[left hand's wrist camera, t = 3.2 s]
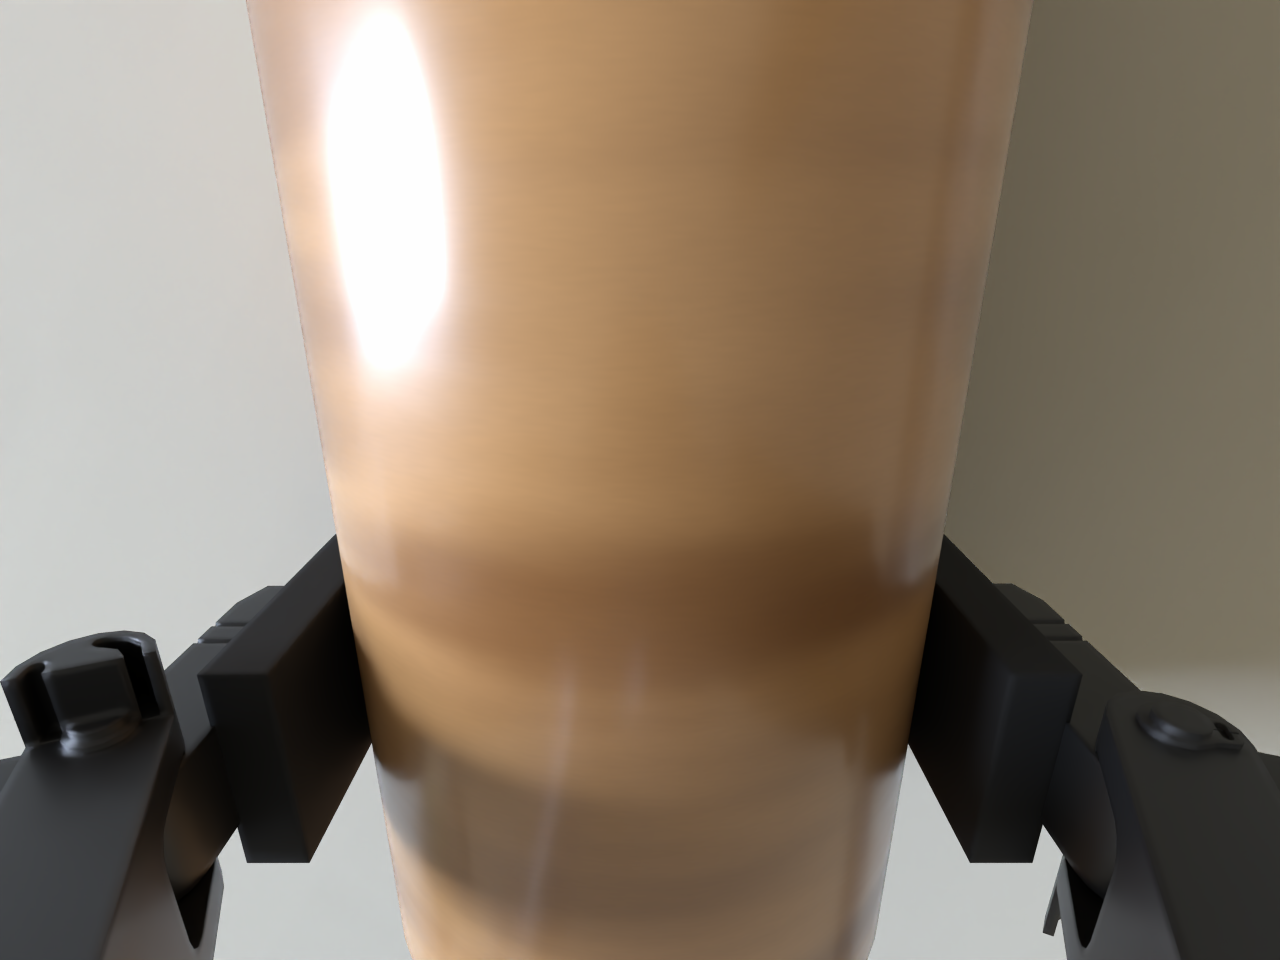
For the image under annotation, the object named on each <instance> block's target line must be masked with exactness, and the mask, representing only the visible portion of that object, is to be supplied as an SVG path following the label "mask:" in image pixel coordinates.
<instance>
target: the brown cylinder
mask: <svg viewBox="0 0 1280 960" xmlns="http://www.w3.org/2000/svg"><path fill="white" fill-rule="evenodd" d="M1033 2H1034V0H246V3H247V9H248V15H249V21H250V27H251V33H252V38H253V44H254V50H255V56H256V62H257V68H258V74H259V80H260V86H261V92H262V97H263V103H264V109H265V115H266V121H267V127H268V133H269V139H270V145H271V150H272V156H273V162H274V168H275V174H276V180H277V186H278V192H279V198H280V204H281V209H282V215H283V221H284V227H285V233H286V239H287V245H288V251H289V257H290V263H291V268H292V274H293V280H294V286H295V292H296V298H297V304H298V310H299V316H300V322H301V327H302V333H303V339H304V345H305V351H306V357H307V363H308V369H309V375H310V381H311V386H312V392H313V398H314V404H315V410H316V416H317V422H318V428H319V434H320V440H321V445H322V451H323V457H324V463H325V469H326V475H327V481H328V487H329V493H330V498H331V504H332V510H333V516H334V522H335V528H336V534H337V540H338V546H339V552H340V557H341V563H342V569H343V575H344V581H345V587H346V593H347V599H348V605H349V611H350V616H351V622H352V628H353V634H354V640H355V646H356V652H357V658H358V664H359V670H360V675H361V681H362V687H363V693H364V699H365V705H366V711H367V717H368V723H369V729H370V734H371V740H372V746H373V752H374V758H375V764H376V770H377V776H378V782H379V788H380V793H381V799H382V805H383V811H384V817H385V823H386V829H387V835H388V841H389V847H390V852H391V858H392V864H393V870H394V876H395V882H396V888H397V894H398V900H399V905H400V911H401V917H402V923H403V929H404V934H405V939H406V942H407V945H408V948H409V951H410V954H411V956H412V959H413V960H867V959H868V956H869V953H870V951H871V948H872V945H873V942H874V939H875V934H876V928H877V923H878V917H879V911H880V905H881V899H882V893H883V888H884V882H885V876H886V870H887V864H888V858H889V852H890V846H891V840H892V834H893V829H894V823H895V817H896V811H897V805H898V799H899V793H900V787H901V781H902V775H903V769H904V764H905V758H906V752H907V746H908V740H909V734H910V728H911V722H912V716H913V710H914V705H915V699H916V693H917V687H918V681H919V675H920V669H921V663H922V657H923V651H924V645H925V640H926V634H927V628H928V622H929V616H930V610H931V604H932V598H933V592H934V586H935V581H936V575H937V569H938V563H939V557H940V551H941V545H942V539H943V533H944V527H945V521H946V516H947V510H948V504H949V498H950V492H951V486H952V480H953V474H954V468H955V462H956V456H957V451H958V445H959V439H960V433H961V427H962V421H963V415H964V409H965V403H966V397H967V392H968V386H969V380H970V374H971V368H972V362H973V356H974V350H975V344H976V338H977V332H978V327H979V321H980V315H981V309H982V303H983V297H984V291H985V285H986V279H987V273H988V267H989V262H990V256H991V250H992V244H993V238H994V232H995V226H996V220H997V214H998V208H999V203H1000V197H1001V191H1002V185H1003V179H1004V173H1005V167H1006V161H1007V155H1008V149H1009V143H1010V138H1011V132H1012V126H1013V120H1014V114H1015V108H1016V102H1017V96H1018V90H1019V84H1020V79H1021V73H1022V67H1023V61H1024V55H1025V49H1026V43H1027V37H1028V31H1029V25H1030V19H1031V14H1032V8H1033Z"/></svg>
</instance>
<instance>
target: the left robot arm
mask: <svg viewBox="0 0 1280 960" xmlns="http://www.w3.org/2000/svg"><path fill="white" fill-rule="evenodd" d="M0 683H1V685H2V688H3V691H4V693H5V696H6V698H7V701H8V703H9V706H10V709H11V711H12V714H13V716H14V719H15V721H16V724H17V726H18V729H19V732H20V734H21V737H22V739H23V742H24V744H25V747H26V748H25V750H24V752H23V753H22V755H21V756H17V757H12V758H7V759H2V760H0V960H213V957H214V951H215V944H216V937H217V930H218V923H219V917H220V910H221V903H222V896H223V889H224V884H223V876H222V871H221V867H220V864H219V860H218V855H219V854H220V852H221V851H222V849H223V848H224V846H225V845H226V843H227V842H228V840H229V839H230V837H231V836H232V834H233V833H234V831H235V830H236V828H237V827H238V831H239V835H240V838H241V842H242V846H243V850H244V853H245V857H246V861H247V863H310V861H311V859H312V857H313V855H314V853H315V851H316V849H317V847H318V845H319V843H320V841H321V839H322V838H323V836H324V834H325V832H326V830H327V828H328V826H329V824H330V822H331V820H332V818H333V816H334V814H335V812H336V811H337V809H338V807H339V805H340V803H341V801H342V799H343V797H344V795H345V793H346V791H347V789H348V787H349V786H350V784H351V782H352V780H353V778H354V776H355V774H356V772H357V770H358V768H359V766H360V764H361V762H362V760H363V759H364V757H365V755H366V753H367V751H368V749H369V747H370V745H371V743H372V740H371V734H370V729H369V723H368V717H367V711H366V705H365V699H364V693H363V687H362V681H361V675H360V670H359V664H358V658H357V652H356V646H355V640H354V634H353V628H352V622H351V616H350V611H349V605H348V599H347V593H346V587H345V581H344V575H343V569H342V563H341V557H340V552H339V546H338V540H337V534H335V535H334V536H333V537H332V538H331V539H330V540H329V541H328V542H327V543H326V544H325V545H324V546H323V547H322V548H321V549H320V550H319V551H318V553H317V554H316V555H315V556H314V557H313V558H312V559H311V560H310V561H309V562H308V563H307V564H306V565H305V566H304V567H303V568H302V569H301V570H300V571H299V572H298V573H297V574H296V575H295V576H294V577H293V578H292V579H291V580H290V581H289V582H288V583H287V584H286V585H285V586H267V587H265V588H263V589H262V590H260V591H258V592H256V593H254V594H252V595H250V596H249V597H247V598H245V599H243V600H241V601H239V602H238V603H236V604H235V605H234V606H233V607H232V608H231V609H230V610H229V611H228V612H227V613H226V614H224V615H223V616H222V617H221V618H220V619H219V620H218V621H217V622H216V626H215V627H211V628H209V629H208V630H207V631H206V632H205V633H204V634H203V635H202V636H201V637H200V638H199V639H198V643H193V644H192V645H191V646H190V647H189V648H188V649H187V650H186V651H185V652H184V653H183V654H182V655H181V656H179V657H178V658H177V659H176V660H175V661H174V662H173V663H172V664H171V665H170V666H169V667H168V668H167V669H166V670H164V669H163V665H162V662H161V658H160V655H159V651H158V648H157V644H156V641H155V639H153V638H151V637H150V636H148V635H147V634H145V633H141V632H132V631H116V632H106V633H98V634H94V635H90V636H86V637H82V638H78V639H74V640H70V641H67V642H65V643H62V644H60V645H57V646H55V647H52V648H50V649H47V650H45V651H42V652H40V653H38V654H37V655H35V656H33V657H32V658H30V659H28V660H26V661H25V662H23V663H21V664H20V665H18V666H16V667H15V668H14V669H13V670H12V671H11V672H10V673H9V674H8V675H7V676H6V677H4V678H3V679H2V680H1V681H0ZM908 744H909V746H910V748H911V750H912V752H913V754H914V756H915V758H916V759H917V761H918V763H919V765H920V767H921V769H922V771H923V773H924V775H925V777H926V779H927V781H928V783H929V785H930V786H931V788H932V790H933V792H934V794H935V796H936V798H937V800H938V802H939V804H940V806H941V808H942V810H943V811H944V813H945V815H946V817H947V819H948V821H949V823H950V825H951V827H952V829H953V831H954V833H955V835H956V837H957V838H958V840H959V842H960V844H961V846H962V848H963V850H964V852H965V854H966V856H967V858H968V860H969V862H970V863H1032V862H1033V859H1034V855H1035V851H1036V847H1037V844H1038V840H1039V836H1040V833H1041V829H1042V825H1044V827H1045V828H1046V830H1047V831H1048V833H1049V834H1050V836H1051V837H1052V839H1053V840H1054V842H1055V843H1056V845H1057V846H1058V847H1059V849H1060V850H1061V852H1062V853H1063V857H1062V860H1061V864H1060V867H1059V871H1058V874H1057V877H1056V881H1055V884H1054V888H1053V891H1052V895H1051V898H1050V902H1049V905H1048V909H1047V912H1046V916H1045V921H1044V928H1043V933H1045V934H1048V935H1051V936H1054V933H1055V929H1056V926H1057V923H1058V920H1059V919H1061V921H1062V928H1063V935H1064V942H1065V949H1066V955H1067V960H1280V756H1275V755H1270V754H1265V753H1260V752H1257V750H1256V748H1255V747H1254V746H1253V744H1252V743H1251V742H1250V741H1249V740H1248V739H1247V738H1246V736H1245V735H1244V734H1243V733H1242V732H1241V731H1240V730H1239V729H1238V728H1236V727H1235V726H1233V725H1232V724H1230V723H1229V722H1227V721H1226V720H1225V719H1223V718H1222V717H1220V716H1219V715H1217V714H1215V713H1213V712H1211V711H1209V710H1207V709H1204V708H1202V707H1200V706H1198V705H1196V704H1194V703H1192V702H1189V701H1186V700H1182V699H1179V698H1176V697H1172V696H1169V695H1166V694H1162V693H1154V692H1146V691H1140V690H1139V689H1138V688H1137V687H1136V686H1135V685H1134V684H1133V683H1132V682H1131V681H1130V680H1128V679H1127V678H1126V677H1125V676H1124V675H1123V674H1122V673H1121V672H1120V671H1119V670H1118V669H1117V668H1115V667H1114V666H1113V665H1112V664H1111V663H1110V662H1109V661H1108V660H1107V659H1106V658H1105V657H1104V656H1103V655H1101V654H1100V653H1099V652H1098V651H1097V650H1096V649H1095V648H1094V647H1093V646H1092V645H1091V644H1090V643H1089V642H1087V641H1083V640H1082V636H1081V635H1080V634H1079V633H1078V632H1077V631H1076V630H1074V629H1073V628H1072V627H1071V626H1070V625H1069V624H1065V623H1064V619H1063V618H1062V617H1060V616H1059V615H1058V614H1057V613H1056V612H1055V611H1054V610H1053V609H1052V608H1051V607H1050V606H1049V605H1048V604H1046V603H1045V602H1044V601H1043V600H1041V599H1040V598H1038V597H1036V596H1034V595H1032V594H1030V593H1028V592H1027V591H1025V590H1023V589H1021V588H1019V587H1017V586H1015V585H1014V584H993V583H992V582H991V581H990V580H989V579H988V578H987V577H986V576H985V575H984V574H983V573H982V572H981V571H980V570H979V569H978V568H977V567H976V566H975V565H974V564H973V563H972V562H971V561H970V560H969V559H968V558H967V557H966V556H965V555H964V554H963V553H962V552H961V551H960V550H959V549H958V548H957V547H956V546H955V545H954V544H953V543H952V542H951V541H950V540H949V539H948V538H947V537H946V536H945V535H944V534H943V539H942V545H941V551H940V557H939V563H938V569H937V575H936V581H935V586H934V592H933V598H932V604H931V610H930V616H929V622H928V628H927V634H926V640H925V645H924V651H923V657H922V663H921V669H920V675H919V681H918V687H917V693H916V699H915V705H914V710H913V716H912V722H911V728H910V734H909V740H908Z"/></svg>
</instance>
